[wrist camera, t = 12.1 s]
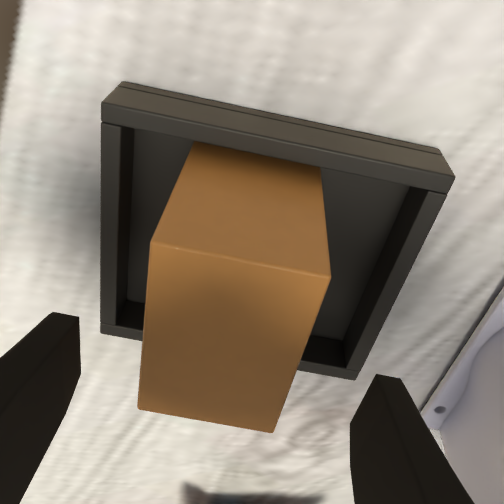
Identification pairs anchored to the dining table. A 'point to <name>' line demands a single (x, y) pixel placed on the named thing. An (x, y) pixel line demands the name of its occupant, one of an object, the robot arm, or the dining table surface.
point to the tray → (282, 147)
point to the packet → (233, 287)
